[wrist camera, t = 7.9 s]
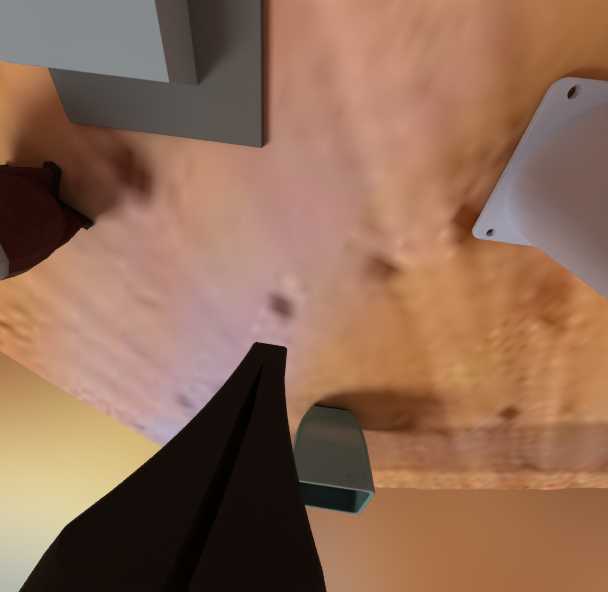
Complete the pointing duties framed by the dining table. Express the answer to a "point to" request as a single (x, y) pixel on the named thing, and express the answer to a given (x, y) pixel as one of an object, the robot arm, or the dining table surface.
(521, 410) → the dining table surface
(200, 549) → the robot arm
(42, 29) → the slab
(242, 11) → the mat
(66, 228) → the mate gourd
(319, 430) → the flower pot
